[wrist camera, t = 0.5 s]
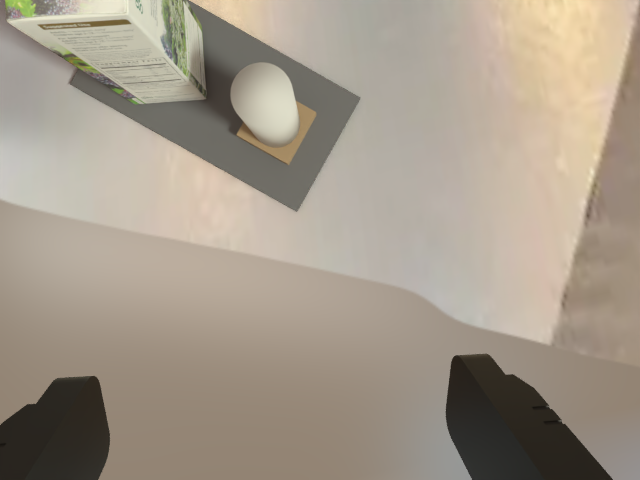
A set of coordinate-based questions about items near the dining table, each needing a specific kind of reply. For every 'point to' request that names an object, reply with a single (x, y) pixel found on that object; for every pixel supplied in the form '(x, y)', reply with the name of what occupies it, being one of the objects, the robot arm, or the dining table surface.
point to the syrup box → (122, 43)
